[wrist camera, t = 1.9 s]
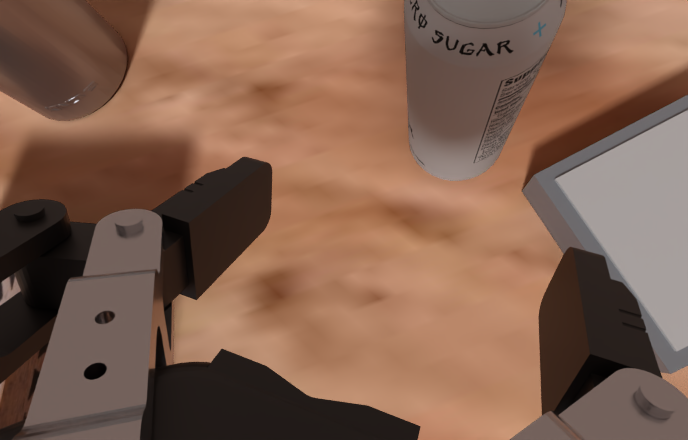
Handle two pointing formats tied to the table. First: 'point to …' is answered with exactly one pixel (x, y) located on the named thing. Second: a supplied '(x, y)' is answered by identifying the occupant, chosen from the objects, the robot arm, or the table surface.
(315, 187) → the table surface
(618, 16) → the table surface
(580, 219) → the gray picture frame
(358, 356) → the table surface
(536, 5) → the energy drink can
